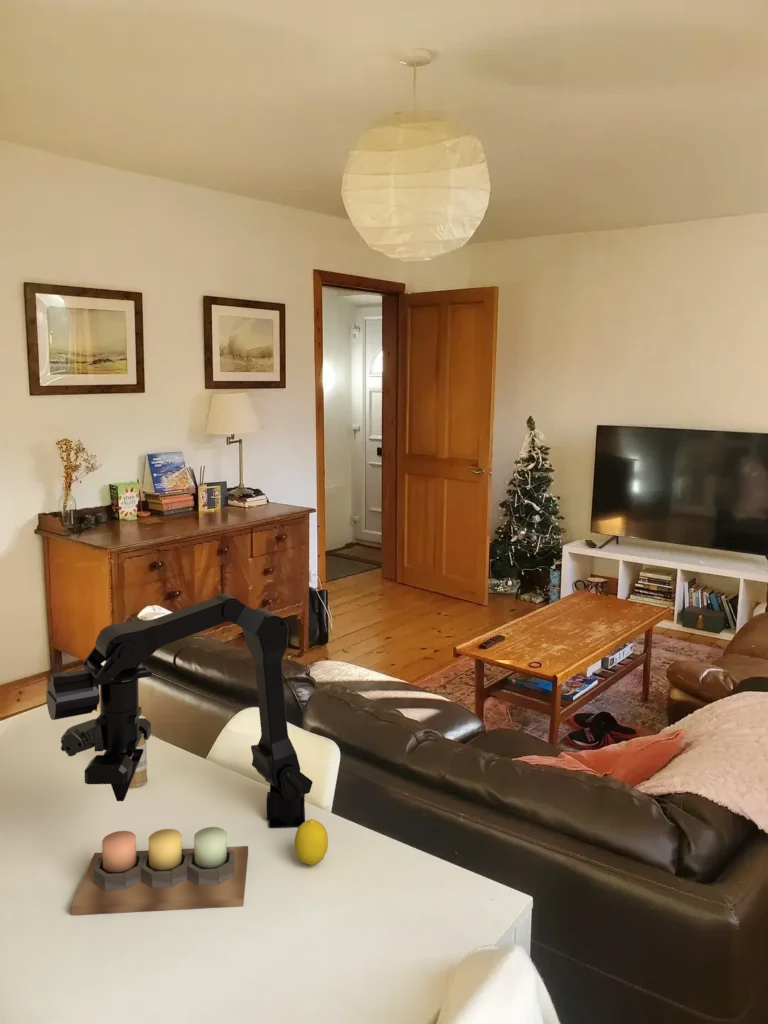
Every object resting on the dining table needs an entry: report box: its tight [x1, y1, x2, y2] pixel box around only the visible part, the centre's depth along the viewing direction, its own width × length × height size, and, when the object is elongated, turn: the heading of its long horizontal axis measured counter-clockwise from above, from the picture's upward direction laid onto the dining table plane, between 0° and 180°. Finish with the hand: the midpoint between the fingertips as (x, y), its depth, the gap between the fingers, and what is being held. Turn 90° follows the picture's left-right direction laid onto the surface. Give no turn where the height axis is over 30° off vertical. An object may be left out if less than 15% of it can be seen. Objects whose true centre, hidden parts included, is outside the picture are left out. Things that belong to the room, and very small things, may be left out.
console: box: [71, 845, 249, 916], centre depth 125 cm, size 25×14×4 cm, turn 97°
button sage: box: [193, 826, 228, 868], centre depth 125 cm, size 5×5×4 cm
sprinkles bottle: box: [129, 715, 148, 788], centre depth 157 cm, size 5×5×13 cm
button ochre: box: [148, 828, 183, 870], centre depth 125 cm, size 5×5×4 cm
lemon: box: [294, 818, 329, 867], centre depth 130 cm, size 6×6×8 cm
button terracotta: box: [101, 830, 137, 873], centre depth 124 cm, size 5×5×4 cm
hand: (120, 800), depth 126 cm, fingers closed
